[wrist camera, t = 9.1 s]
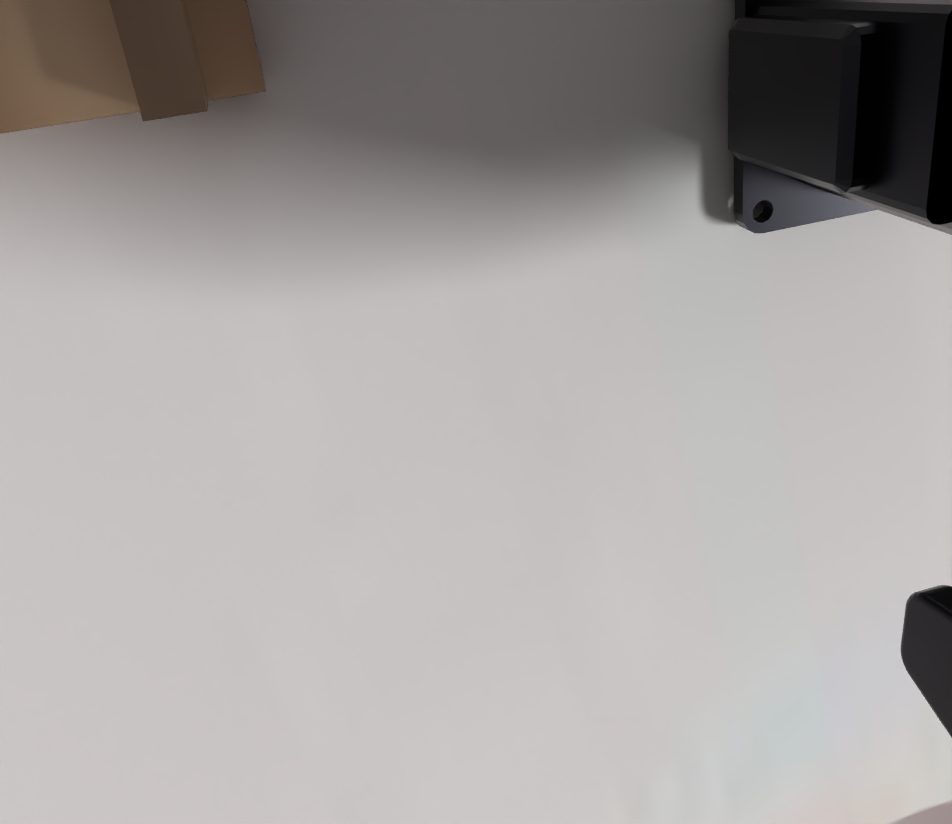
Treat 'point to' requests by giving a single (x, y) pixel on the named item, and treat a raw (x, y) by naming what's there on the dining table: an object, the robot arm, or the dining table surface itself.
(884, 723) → the dining table surface
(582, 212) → the dining table surface
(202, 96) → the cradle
